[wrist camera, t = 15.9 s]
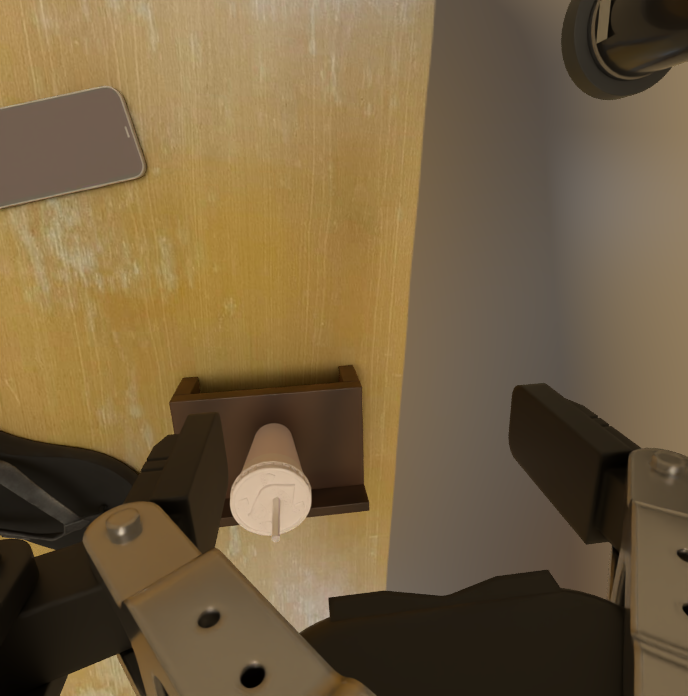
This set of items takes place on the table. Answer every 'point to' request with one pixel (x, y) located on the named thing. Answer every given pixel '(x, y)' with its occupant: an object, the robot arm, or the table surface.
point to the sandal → (56, 490)
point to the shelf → (306, 428)
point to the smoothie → (271, 485)
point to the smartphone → (66, 146)
